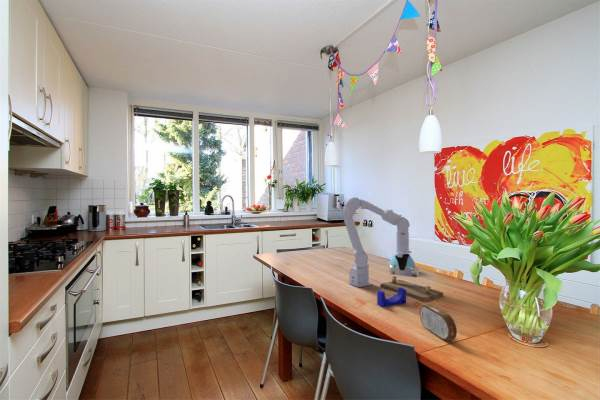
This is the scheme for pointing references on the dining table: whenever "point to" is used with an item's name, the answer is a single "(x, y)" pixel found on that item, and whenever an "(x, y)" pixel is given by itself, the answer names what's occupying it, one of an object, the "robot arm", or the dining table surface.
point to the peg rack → (412, 289)
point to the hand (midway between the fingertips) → (402, 269)
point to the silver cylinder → (407, 271)
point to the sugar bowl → (394, 261)
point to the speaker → (438, 322)
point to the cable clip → (391, 298)
